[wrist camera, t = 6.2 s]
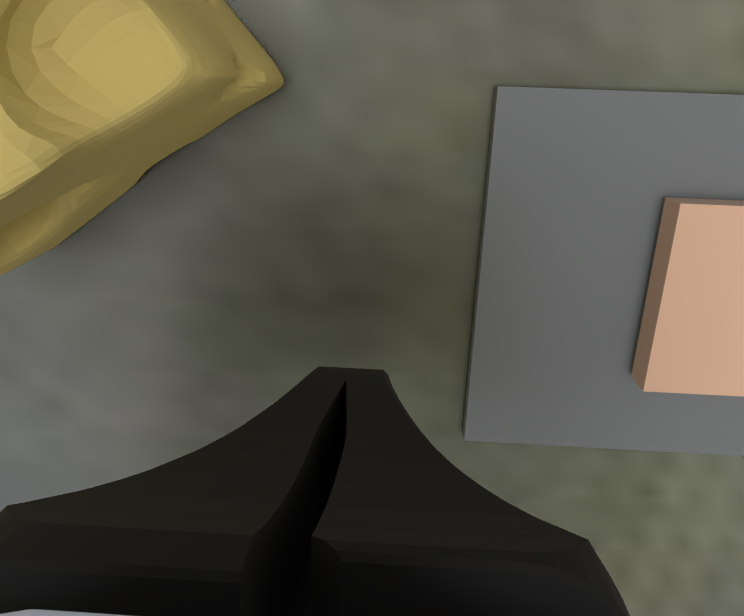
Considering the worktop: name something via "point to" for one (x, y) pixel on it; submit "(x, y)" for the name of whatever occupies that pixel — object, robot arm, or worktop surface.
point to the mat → (590, 266)
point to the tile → (695, 301)
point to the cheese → (108, 102)
